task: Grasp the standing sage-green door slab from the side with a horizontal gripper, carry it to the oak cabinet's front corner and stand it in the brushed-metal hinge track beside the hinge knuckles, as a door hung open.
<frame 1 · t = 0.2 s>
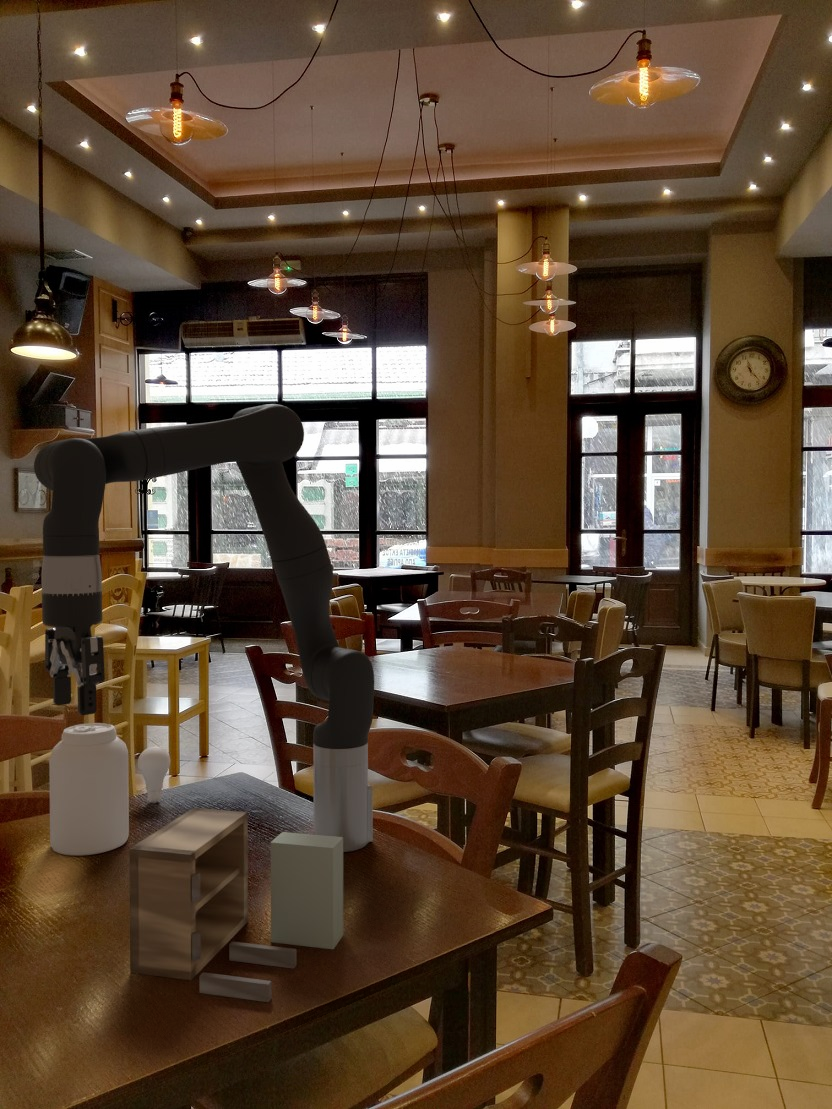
hand: (74, 709, 118), 29 cm above the table, tool pointing down, fingers open, 8 cm apart
can: (90, 845, 148), on the table
cabinet: (192, 945, 112), on the table
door: (307, 938, 114), on the table
lightbulb: (154, 803, 170), on the table
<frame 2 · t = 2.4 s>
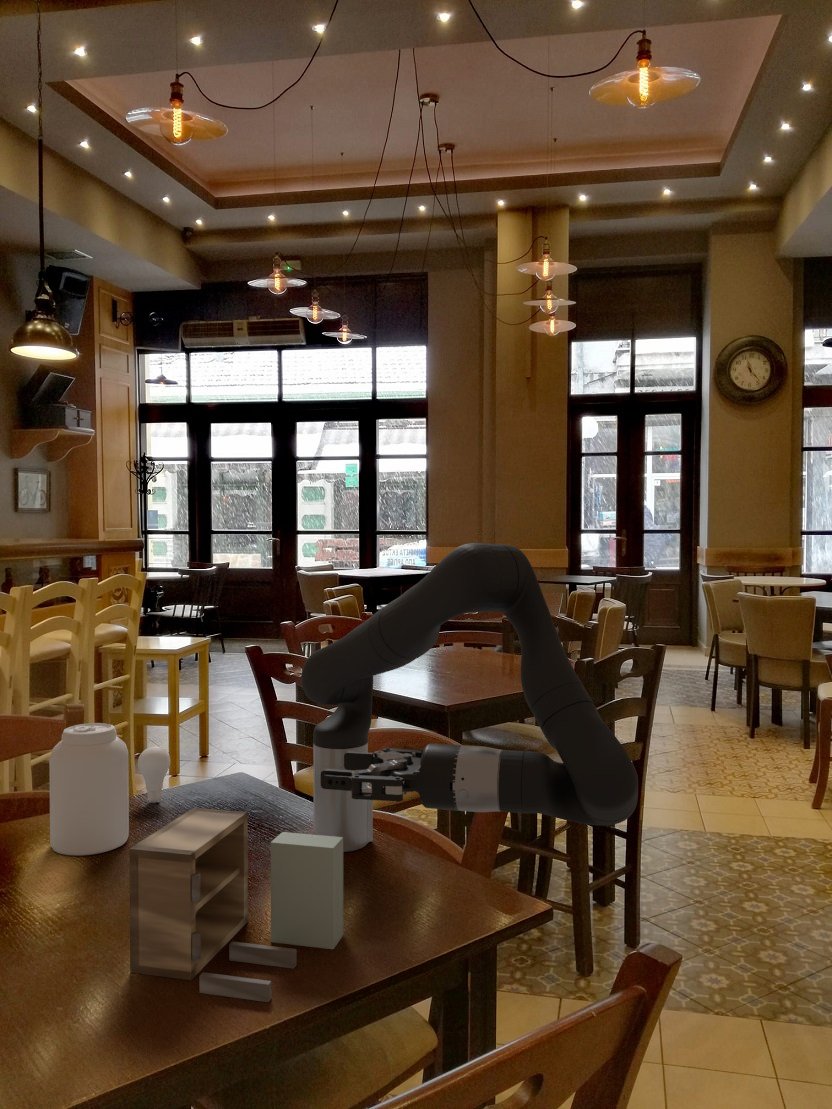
hand: (333, 769, 107), 24 cm above the table, tool horizontal, fingers open, 8 cm apart
nothing on the table moved.
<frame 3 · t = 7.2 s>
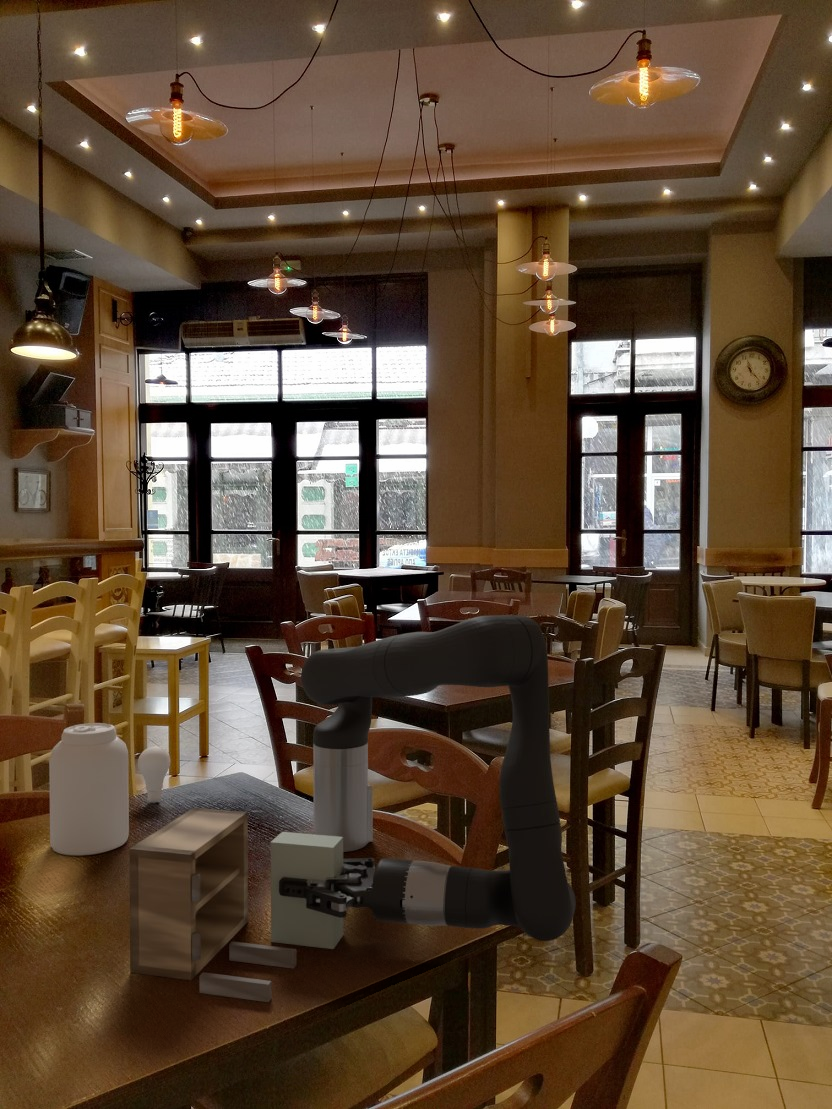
hand: (287, 879, 114), 8 cm above the table, tool horizontal, fingers closed on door, 4 cm apart
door: (307, 938, 114), on the table, touching gripper
everything else where it was.
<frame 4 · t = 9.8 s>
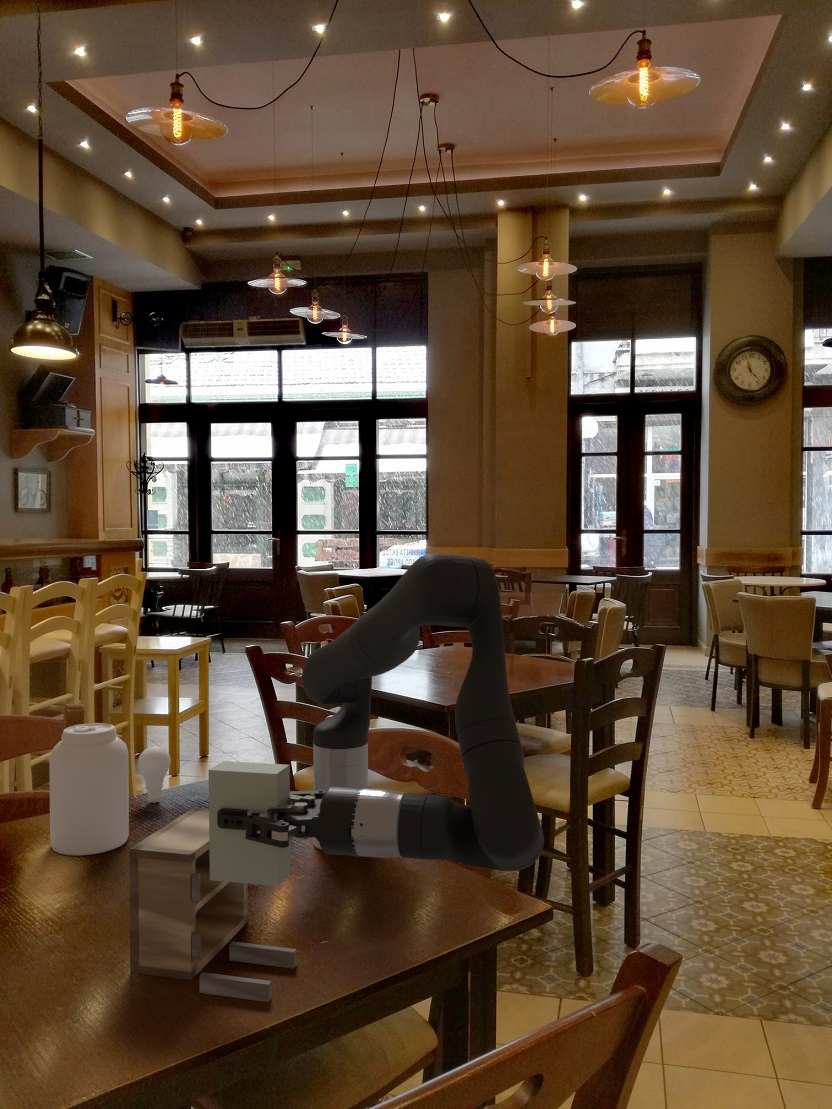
hand: (228, 811, 103), 20 cm above the table, tool horizontal, fingers closed on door, 4 cm apart
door: (250, 876, 103), point 12 cm above the table, touching gripper
everything else where it was.
when the fingers open (9 cm above the table, at t = 12.7 s): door drops 1 cm, on the table.
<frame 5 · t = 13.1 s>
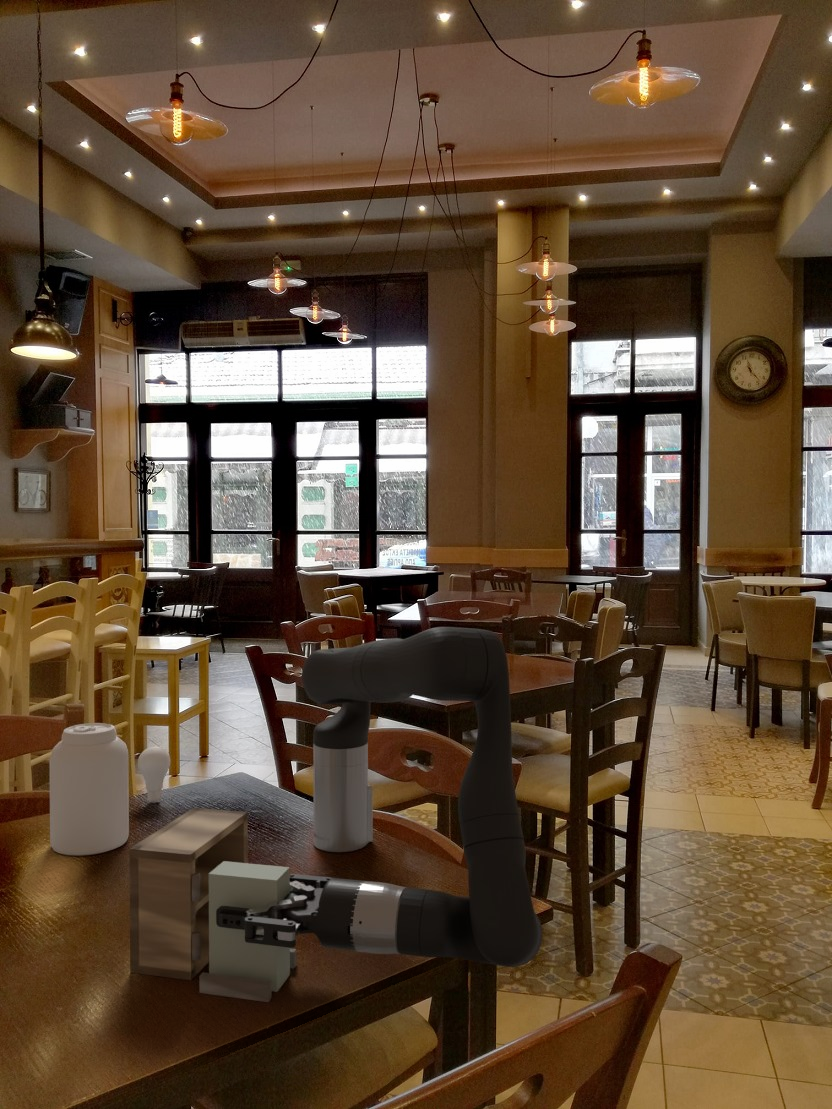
hand: (232, 901, 104), 9 cm above the table, tool horizontal, fingers open, 7 cm apart
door: (249, 978, 103), on the table
everything else where it was.
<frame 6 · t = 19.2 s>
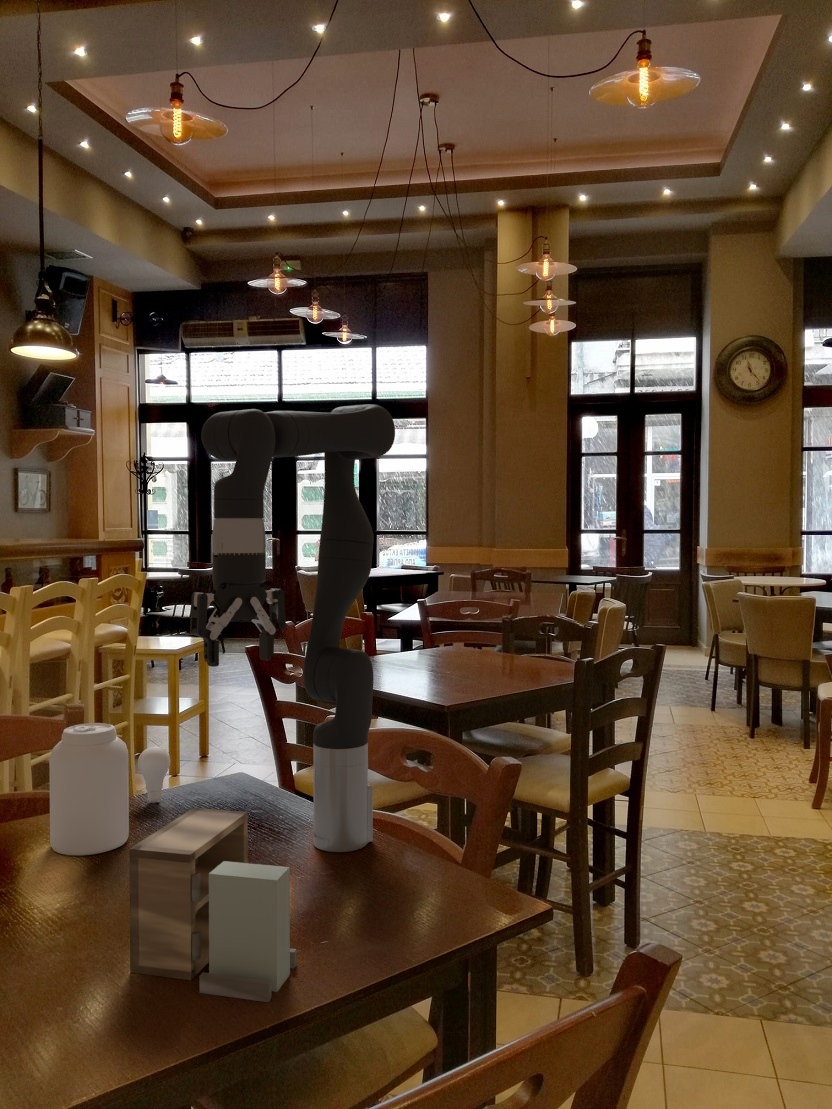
hand: (239, 662, 126), 34 cm above the table, tool pointing down, fingers open, 8 cm apart
nothing on the table moved.
at the end: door 0.0 cm from the target spot, on the table; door tilted 0°; the gripper is holding nothing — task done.
